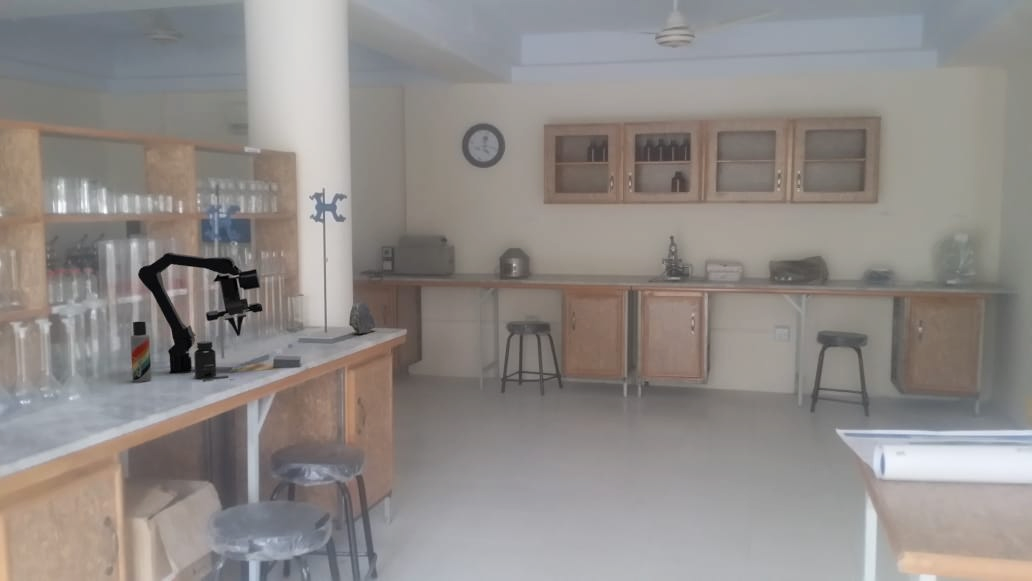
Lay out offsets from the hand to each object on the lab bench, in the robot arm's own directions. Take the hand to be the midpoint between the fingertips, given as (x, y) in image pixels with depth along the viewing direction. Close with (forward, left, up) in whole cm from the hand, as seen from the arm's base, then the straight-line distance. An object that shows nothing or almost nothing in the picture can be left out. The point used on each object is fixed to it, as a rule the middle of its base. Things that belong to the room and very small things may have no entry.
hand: (238, 335), depth 292 cm
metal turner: (-4, -16, -12) cm, 20 cm away
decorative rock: (+53, +69, -12) cm, 88 cm away
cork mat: (+5, 0, -12) cm, 13 cm away
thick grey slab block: (+12, -1, -10) cm, 15 cm away
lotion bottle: (-31, -10, -12) cm, 35 cm away
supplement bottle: (-11, -11, -12) cm, 20 cm away
